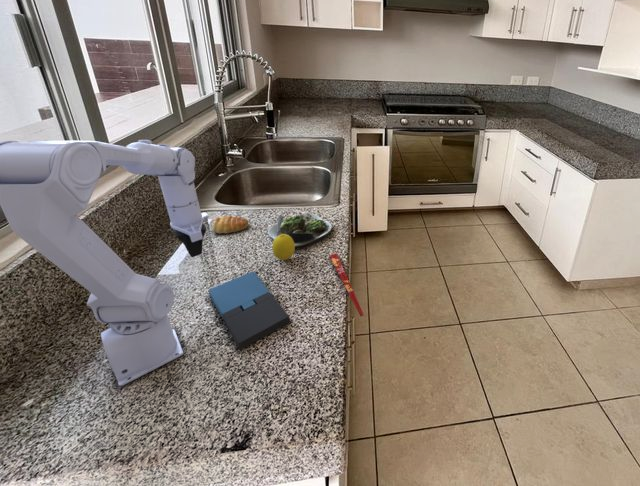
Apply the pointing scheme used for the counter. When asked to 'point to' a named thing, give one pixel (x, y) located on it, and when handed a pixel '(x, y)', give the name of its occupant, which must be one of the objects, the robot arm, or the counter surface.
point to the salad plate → (302, 229)
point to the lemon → (283, 247)
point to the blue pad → (238, 293)
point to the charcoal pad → (255, 320)
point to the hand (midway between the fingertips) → (196, 254)
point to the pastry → (229, 224)
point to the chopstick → (345, 281)
